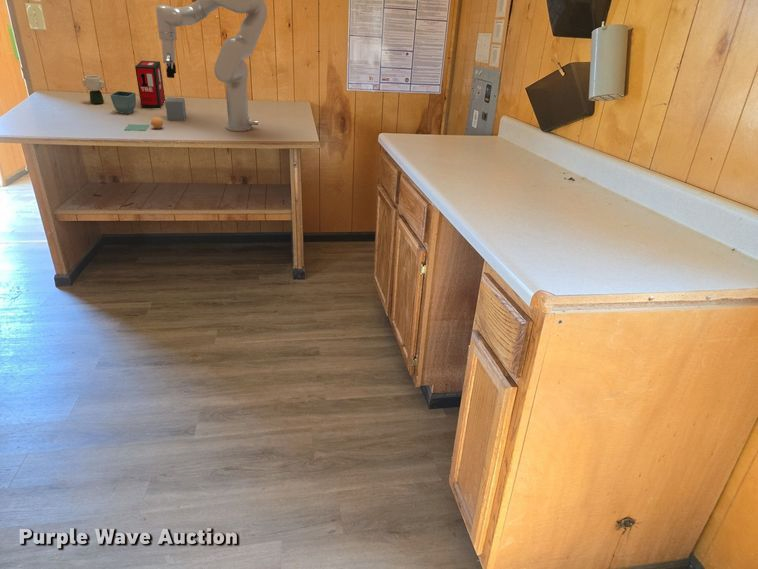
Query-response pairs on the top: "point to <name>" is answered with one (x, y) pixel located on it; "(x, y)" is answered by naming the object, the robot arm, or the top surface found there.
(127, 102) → the flower pot
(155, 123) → the ball
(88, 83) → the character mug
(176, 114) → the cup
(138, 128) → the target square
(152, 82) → the cleaning product box
